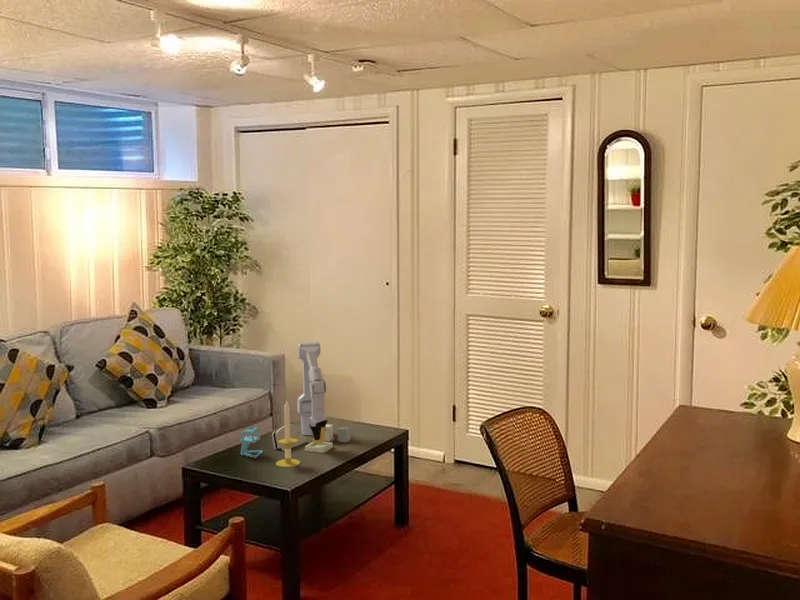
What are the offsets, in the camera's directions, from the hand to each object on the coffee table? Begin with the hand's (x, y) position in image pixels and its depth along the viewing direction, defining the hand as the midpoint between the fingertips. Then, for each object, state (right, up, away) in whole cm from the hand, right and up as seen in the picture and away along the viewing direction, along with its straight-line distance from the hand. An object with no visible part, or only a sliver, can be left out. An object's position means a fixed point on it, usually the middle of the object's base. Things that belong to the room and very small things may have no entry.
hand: (318, 438), depth 345 cm
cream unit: (+1, -3, +13) cm, 14 cm away
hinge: (-14, -5, +7) cm, 16 cm away
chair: (-29, -6, -6) cm, 30 cm away
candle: (-11, -7, -19) cm, 23 cm away
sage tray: (0, -5, +1) cm, 5 cm away
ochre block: (0, -1, 0) cm, 2 cm away
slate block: (+10, -3, +13) cm, 17 cm away
